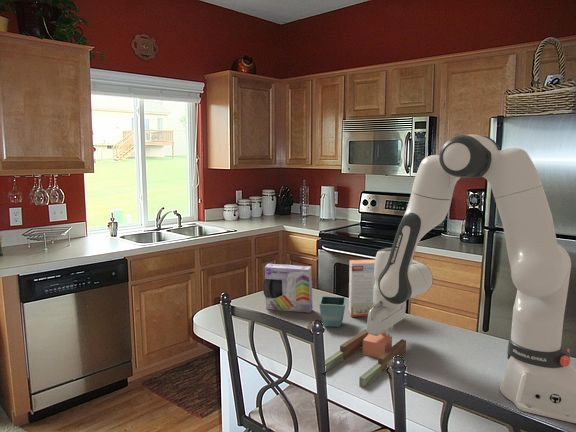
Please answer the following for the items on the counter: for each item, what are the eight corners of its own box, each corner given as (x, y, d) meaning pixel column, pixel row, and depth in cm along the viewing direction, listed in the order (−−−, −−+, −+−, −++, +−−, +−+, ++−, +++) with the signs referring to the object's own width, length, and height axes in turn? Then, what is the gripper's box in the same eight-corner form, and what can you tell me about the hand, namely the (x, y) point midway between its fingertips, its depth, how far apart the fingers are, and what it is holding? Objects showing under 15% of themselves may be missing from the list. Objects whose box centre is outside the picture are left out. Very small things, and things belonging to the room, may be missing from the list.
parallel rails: (405, 352, 138) (406, 340, 138) (364, 387, 118) (364, 373, 117) (365, 340, 147) (365, 329, 146) (320, 371, 126) (320, 358, 126)
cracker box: (383, 311, 174) (385, 258, 171) (387, 317, 168) (389, 262, 165) (347, 311, 173) (349, 258, 170) (350, 317, 167) (352, 262, 164)
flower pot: (318, 328, 157) (319, 303, 156) (321, 319, 165) (321, 295, 164) (344, 330, 155) (344, 305, 154) (345, 320, 164) (345, 297, 163)
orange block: (391, 350, 140) (392, 336, 139) (384, 359, 134) (385, 345, 133) (370, 345, 143) (370, 332, 143) (362, 353, 137) (362, 340, 137)
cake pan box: (262, 309, 176) (262, 265, 173) (266, 304, 181) (266, 262, 178) (309, 314, 170) (310, 269, 168) (312, 309, 175) (313, 266, 172)
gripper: (381, 309, 130) (379, 353, 132) (410, 292, 146) (408, 332, 148) (362, 304, 134) (360, 348, 136) (392, 288, 150) (390, 327, 152)
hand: (385, 339), depth 142 cm, fingers closed
